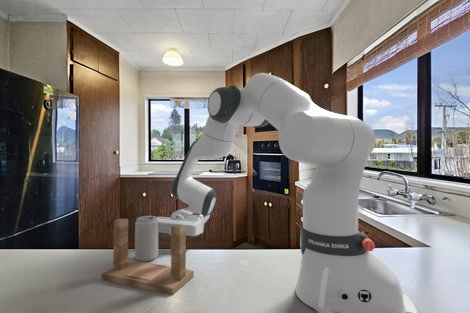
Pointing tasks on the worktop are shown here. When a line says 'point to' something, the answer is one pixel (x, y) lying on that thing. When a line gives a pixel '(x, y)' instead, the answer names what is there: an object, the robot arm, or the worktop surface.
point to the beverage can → (146, 238)
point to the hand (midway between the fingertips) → (158, 232)
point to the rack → (148, 273)
